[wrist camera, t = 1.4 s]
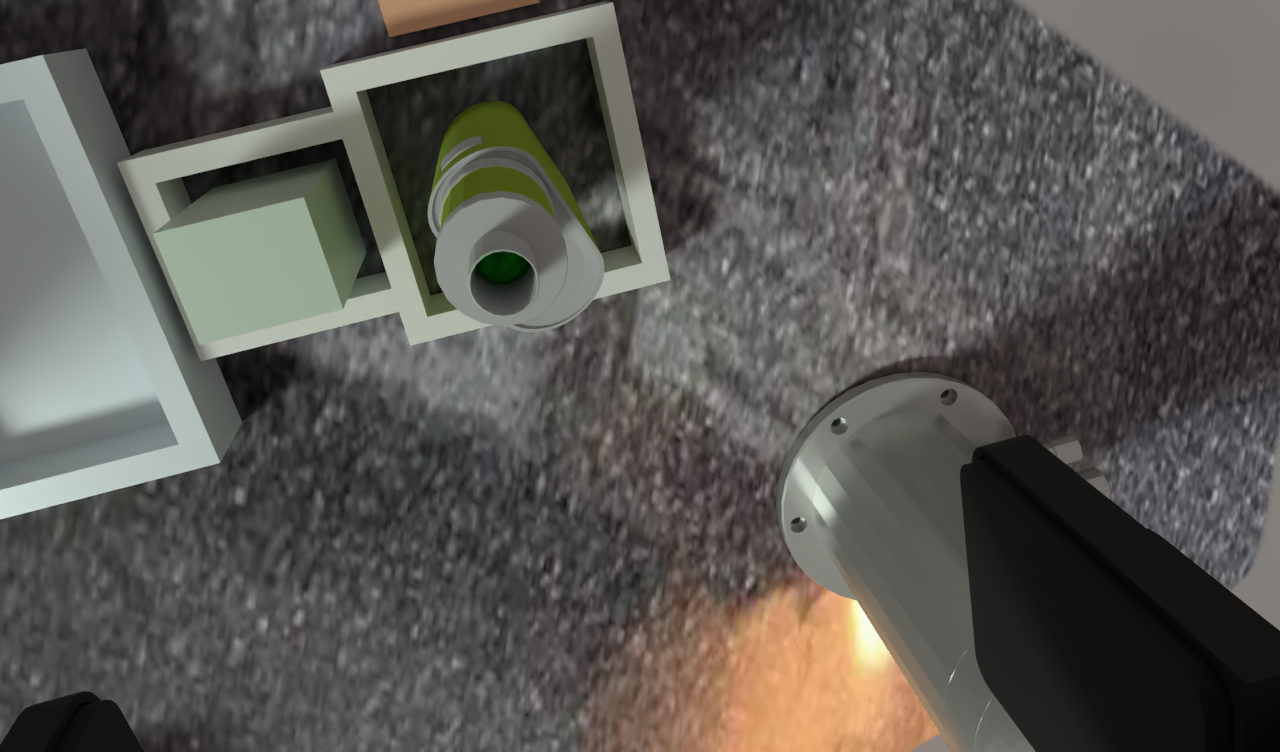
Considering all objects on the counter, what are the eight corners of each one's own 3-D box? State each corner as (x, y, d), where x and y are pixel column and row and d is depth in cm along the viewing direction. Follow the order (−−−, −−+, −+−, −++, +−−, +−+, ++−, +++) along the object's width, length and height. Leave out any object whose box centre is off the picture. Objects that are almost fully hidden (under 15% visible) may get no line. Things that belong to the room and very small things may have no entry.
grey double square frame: (589, -66, 38) (598, -71, 35) (657, 261, 43) (670, 280, 40) (99, 45, 36) (68, 49, 34) (232, 368, 42) (215, 394, 39)
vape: (498, 81, 39) (519, 162, 21) (581, 202, 42) (666, 371, 23) (423, 134, 39) (380, 259, 21) (510, 251, 42) (538, 456, 23)
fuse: (335, 158, 39) (303, 197, 32) (366, 251, 41) (343, 308, 34) (212, 187, 39) (152, 233, 32) (249, 280, 41) (199, 344, 33)
